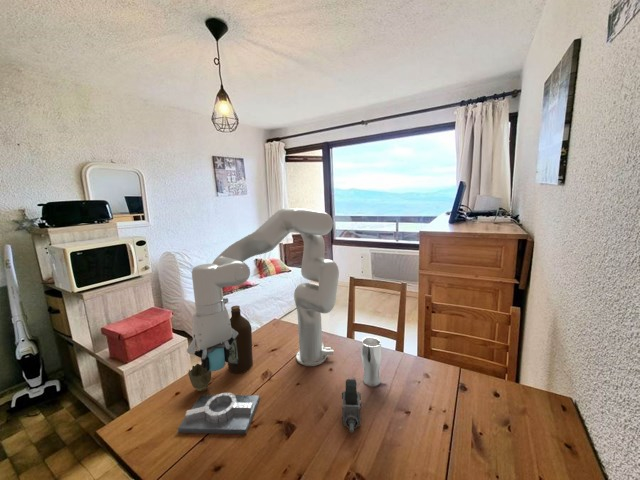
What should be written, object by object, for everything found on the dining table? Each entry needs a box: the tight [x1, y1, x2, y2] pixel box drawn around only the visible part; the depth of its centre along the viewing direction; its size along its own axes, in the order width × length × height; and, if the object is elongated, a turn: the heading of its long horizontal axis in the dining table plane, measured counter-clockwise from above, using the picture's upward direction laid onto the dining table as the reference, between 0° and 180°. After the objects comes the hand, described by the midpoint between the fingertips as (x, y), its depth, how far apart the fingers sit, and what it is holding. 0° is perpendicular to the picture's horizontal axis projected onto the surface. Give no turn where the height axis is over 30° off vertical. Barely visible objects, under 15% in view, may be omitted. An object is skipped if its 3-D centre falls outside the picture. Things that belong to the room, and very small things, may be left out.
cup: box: [187, 363, 212, 393], centre depth 92 cm, size 8×7×8 cm
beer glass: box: [361, 336, 383, 387], centre depth 92 cm, size 7×7×15 cm
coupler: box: [207, 343, 226, 372], centre depth 78 cm, size 5×5×7 cm
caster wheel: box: [341, 378, 362, 434], centre depth 77 cm, size 6×10×15 cm
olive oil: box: [227, 305, 254, 374], centre depth 103 cm, size 11×11×25 cm
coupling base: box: [177, 392, 260, 435], centre depth 80 cm, size 20×13×4 cm, turn 86°
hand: (216, 363), depth 78 cm, fingers closed on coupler, 5 cm apart
